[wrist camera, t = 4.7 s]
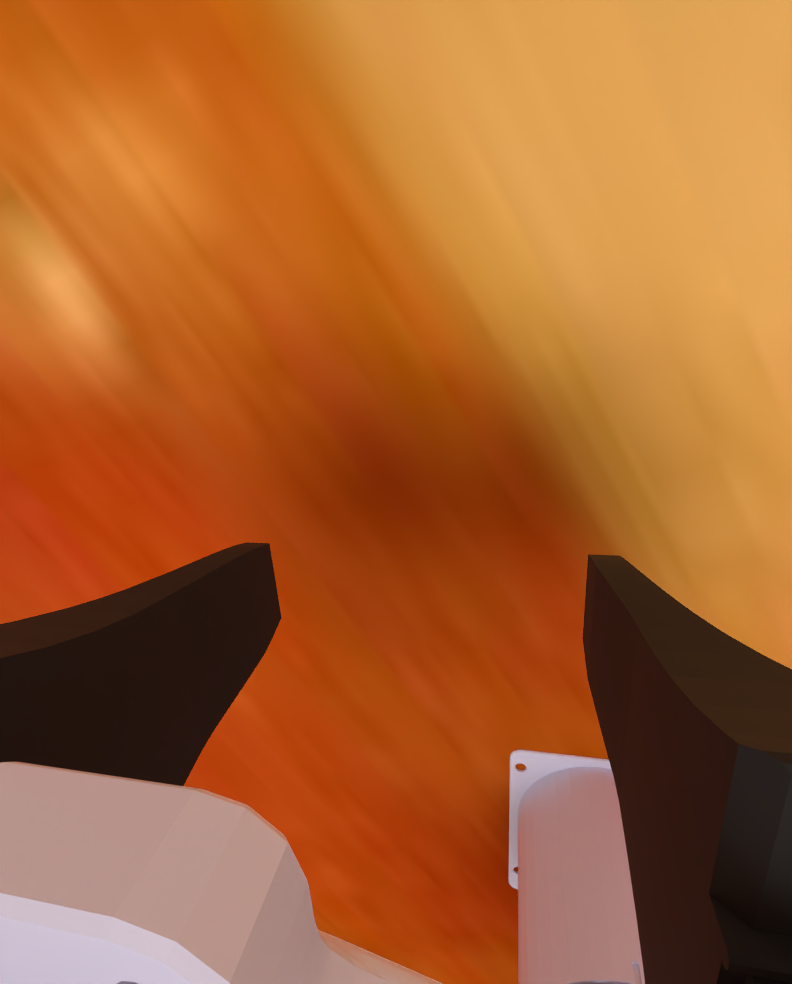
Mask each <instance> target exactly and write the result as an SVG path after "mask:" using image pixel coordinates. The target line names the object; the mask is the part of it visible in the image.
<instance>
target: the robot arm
mask: <svg viewBox="0 0 792 984" xmlns="http://www.w3.org/2000/svg"><path fill="white" fill-rule="evenodd" d="M280 619H281V613H280V607H279V601H278V594H277V588H276V582H275V576H274V570H273V563H272V557H271V551H270V545H269V544H268V543H243V544H239V545H236V546H232V547H230V548H227V549H224V550H221V551H219V552H216V553H214V554H211V555H209V556H207V557H204V558H202V559H199V560H197V561H195V562H192V563H190V564H188V565H185V566H183V567H181V568H178V569H176V570H174V571H171V572H169V573H166V574H164V575H161V576H159V577H156V578H154V579H151V580H148V581H146V582H143V583H141V584H138V585H136V586H133V587H131V588H128V589H126V590H123V591H120V592H117V593H114V594H111V595H108V596H105V597H103V598H99V599H96V600H93V601H90V602H87V603H83V604H80V605H77V606H73V607H70V608H66V609H63V610H59V611H55V612H50V613H46V614H42V615H38V616H34V617H30V618H26V619H22V620H18V621H14V622H9V623H4V624H0V984H443V983H441V982H438V981H436V980H434V979H432V978H429V977H427V976H425V975H422V974H420V973H418V972H415V971H413V970H411V969H409V968H406V967H404V966H402V965H399V964H397V963H395V962H393V961H390V960H388V959H386V958H383V957H381V956H379V955H376V954H374V953H372V952H370V951H367V950H365V949H363V948H360V947H358V946H356V945H353V944H351V943H349V942H347V941H344V940H342V939H340V938H337V937H335V936H333V935H330V934H328V933H325V932H323V931H320V930H318V928H317V926H316V923H315V919H314V914H313V908H312V902H311V897H310V891H309V885H308V881H307V879H306V877H305V875H304V873H303V871H302V869H301V867H300V865H299V863H298V861H297V859H296V857H295V855H294V853H293V851H292V849H291V847H290V845H289V843H288V841H287V839H286V837H285V835H284V834H283V833H281V832H280V831H279V830H278V829H276V828H275V827H274V826H273V825H272V824H270V823H269V822H268V821H267V820H265V819H264V818H263V817H262V816H260V815H259V814H258V813H257V812H256V811H254V810H253V809H252V808H251V807H249V806H248V805H246V804H244V803H241V802H238V801H235V800H232V799H229V798H226V797H224V796H221V795H218V794H215V793H212V792H209V791H207V790H204V789H198V788H192V787H185V786H183V785H184V783H185V782H186V780H187V778H188V776H189V774H190V772H191V770H192V768H193V766H194V764H195V762H196V761H197V759H198V757H199V755H200V753H201V751H202V749H203V747H204V746H205V744H206V742H207V741H208V739H209V738H210V736H211V734H212V733H213V731H214V729H215V728H216V726H217V725H218V723H219V722H220V720H221V719H222V717H223V716H224V714H225V713H226V711H227V710H228V708H229V707H230V705H231V704H232V702H233V701H234V699H235V698H236V696H237V695H238V693H239V692H240V690H241V689H242V687H243V686H244V684H245V683H246V681H247V680H248V678H249V677H250V675H251V674H252V672H253V671H254V669H255V668H256V666H257V665H258V663H259V662H260V660H261V658H262V657H263V655H264V654H265V652H266V650H267V648H268V646H269V644H270V642H271V640H272V638H273V635H274V633H275V631H276V628H277V626H278V624H279V622H280ZM583 643H584V652H585V660H586V668H587V676H588V681H589V685H590V689H591V693H592V697H593V701H594V705H595V709H596V712H597V716H598V720H599V724H600V728H601V731H602V735H603V739H604V743H605V746H606V750H607V754H608V758H609V759H601V758H592V757H583V756H575V755H566V754H557V753H548V752H539V751H530V750H522V749H519V750H514V751H513V752H512V753H511V754H510V796H509V884H510V885H511V886H512V887H513V888H515V889H518V983H519V984H792V669H790V668H787V667H785V666H783V665H781V664H779V663H777V662H775V661H773V660H772V659H770V658H768V657H766V656H764V655H762V654H760V653H758V652H757V651H755V650H753V649H751V648H750V647H748V646H746V645H744V644H742V643H741V642H739V641H737V640H735V639H734V638H732V637H730V636H728V635H727V634H725V633H724V632H722V631H720V630H719V629H717V628H716V627H714V626H713V625H711V624H710V623H708V622H707V621H705V620H704V619H702V618H701V617H699V616H698V615H696V614H695V613H693V612H692V611H690V610H689V609H688V608H686V607H685V606H683V605H682V604H681V603H679V602H678V601H677V600H675V599H674V598H673V597H671V596H670V595H669V594H667V593H666V592H665V591H664V590H662V589H661V588H660V587H658V586H657V585H656V584H655V583H653V582H652V581H651V580H650V579H648V578H647V577H646V576H645V575H644V574H642V573H641V572H640V571H639V570H637V569H636V568H635V567H634V566H633V565H631V564H630V563H629V562H628V561H626V560H625V559H624V558H622V557H621V556H614V555H588V568H587V583H586V598H585V613H584V628H583ZM519 763H521V764H524V765H525V766H526V769H524V770H519V769H517V768H516V767H515V765H516V764H519ZM515 867H518V872H517V871H515V870H514V868H515Z"/></svg>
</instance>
